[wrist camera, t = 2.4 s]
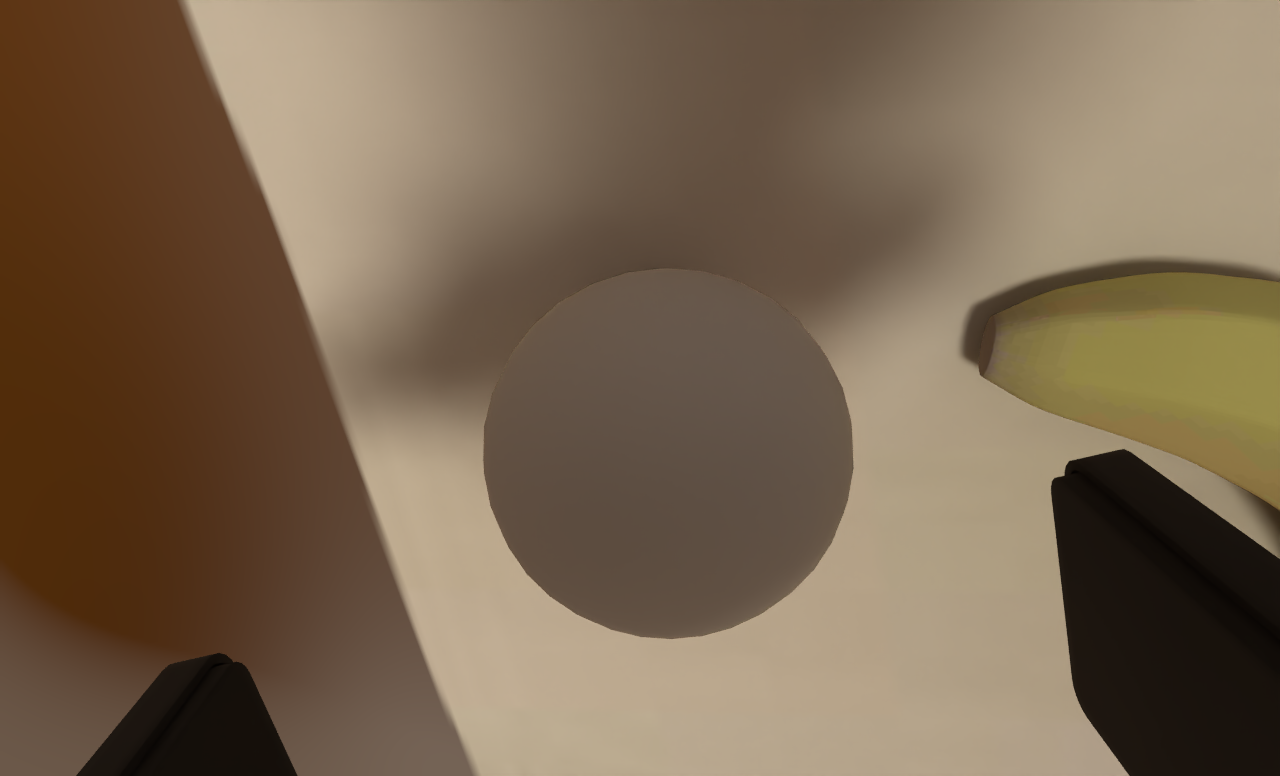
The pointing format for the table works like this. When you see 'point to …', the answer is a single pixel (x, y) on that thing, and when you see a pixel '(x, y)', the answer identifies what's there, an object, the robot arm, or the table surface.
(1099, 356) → the banana
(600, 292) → the lightbulb
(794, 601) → the table surface
